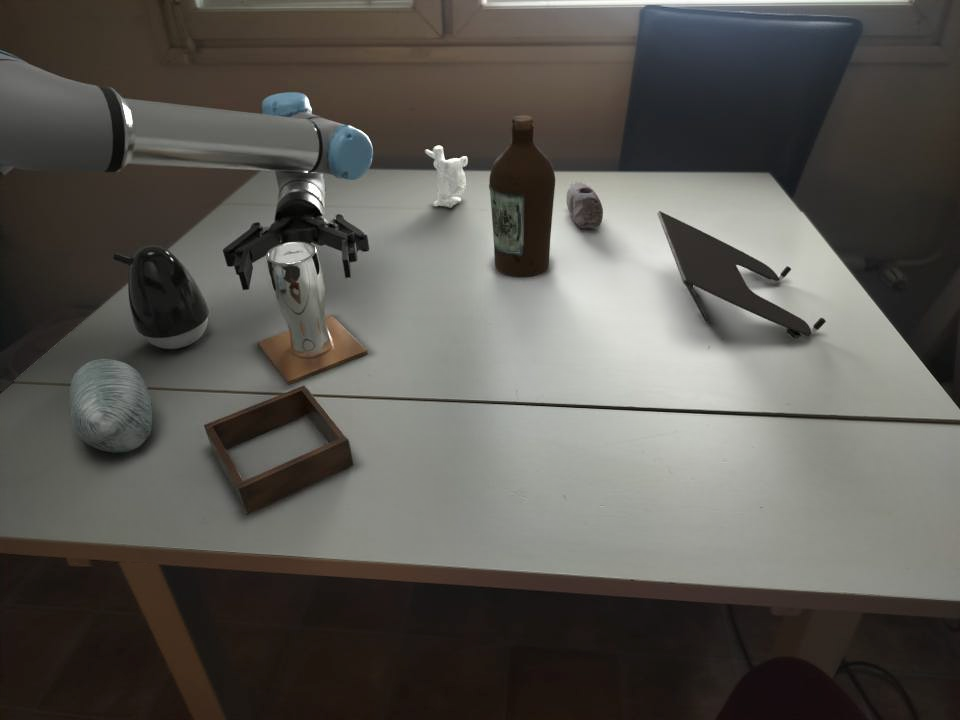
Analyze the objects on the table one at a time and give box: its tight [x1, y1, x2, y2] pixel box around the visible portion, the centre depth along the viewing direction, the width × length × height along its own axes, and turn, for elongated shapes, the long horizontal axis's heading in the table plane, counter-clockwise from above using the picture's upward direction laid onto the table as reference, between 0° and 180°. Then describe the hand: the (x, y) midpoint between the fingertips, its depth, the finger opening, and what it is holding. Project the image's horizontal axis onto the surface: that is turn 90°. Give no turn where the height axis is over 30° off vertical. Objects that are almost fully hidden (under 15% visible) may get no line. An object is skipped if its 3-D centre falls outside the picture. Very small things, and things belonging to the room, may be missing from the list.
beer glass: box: [265, 242, 333, 358], centre depth 92 cm, size 7×7×15 cm
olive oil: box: [488, 114, 556, 278], centre depth 109 cm, size 11×11×25 cm
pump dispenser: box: [112, 244, 210, 350], centre depth 96 cm, size 10×10×15 cm
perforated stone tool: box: [565, 181, 604, 230], centre depth 129 cm, size 15×5×7 cm, turn 6°
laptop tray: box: [657, 210, 827, 340], centre depth 101 cm, size 23×23×9 cm
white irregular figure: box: [424, 144, 469, 209], centre depth 136 cm, size 8×7×12 cm
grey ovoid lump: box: [68, 358, 153, 454], centre depth 82 cm, size 14×10×10 cm
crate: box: [203, 384, 354, 515], centre depth 77 cm, size 13×13×4 cm
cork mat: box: [256, 315, 368, 385], centre depth 97 cm, size 12×12×1 cm
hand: (295, 275), depth 89 cm, fingers open, 13 cm apart
